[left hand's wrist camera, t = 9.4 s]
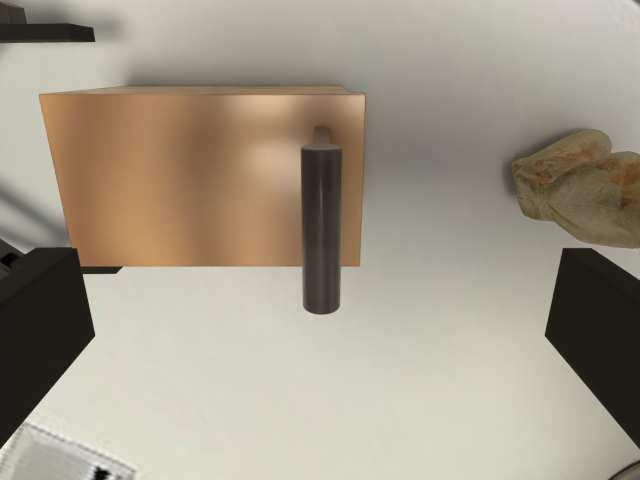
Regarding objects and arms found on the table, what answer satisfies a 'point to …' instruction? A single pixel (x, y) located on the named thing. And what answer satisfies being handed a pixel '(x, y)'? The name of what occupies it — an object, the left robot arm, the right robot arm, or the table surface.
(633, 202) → the sculpture
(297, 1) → the table surface
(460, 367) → the table surface
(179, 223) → the lid
